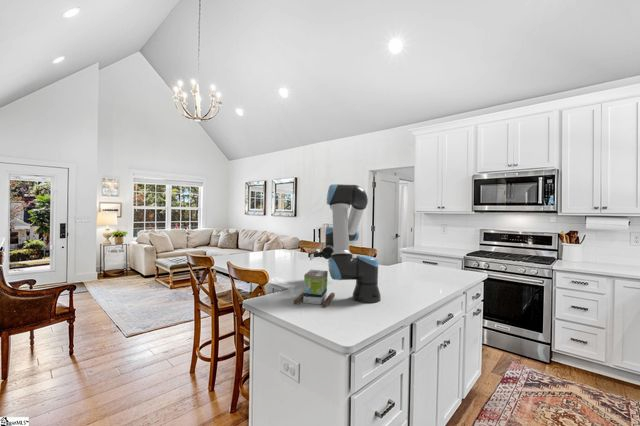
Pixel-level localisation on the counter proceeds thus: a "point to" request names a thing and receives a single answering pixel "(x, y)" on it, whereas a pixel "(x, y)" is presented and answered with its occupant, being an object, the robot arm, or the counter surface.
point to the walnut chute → (323, 302)
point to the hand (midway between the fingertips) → (322, 258)
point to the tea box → (315, 286)
